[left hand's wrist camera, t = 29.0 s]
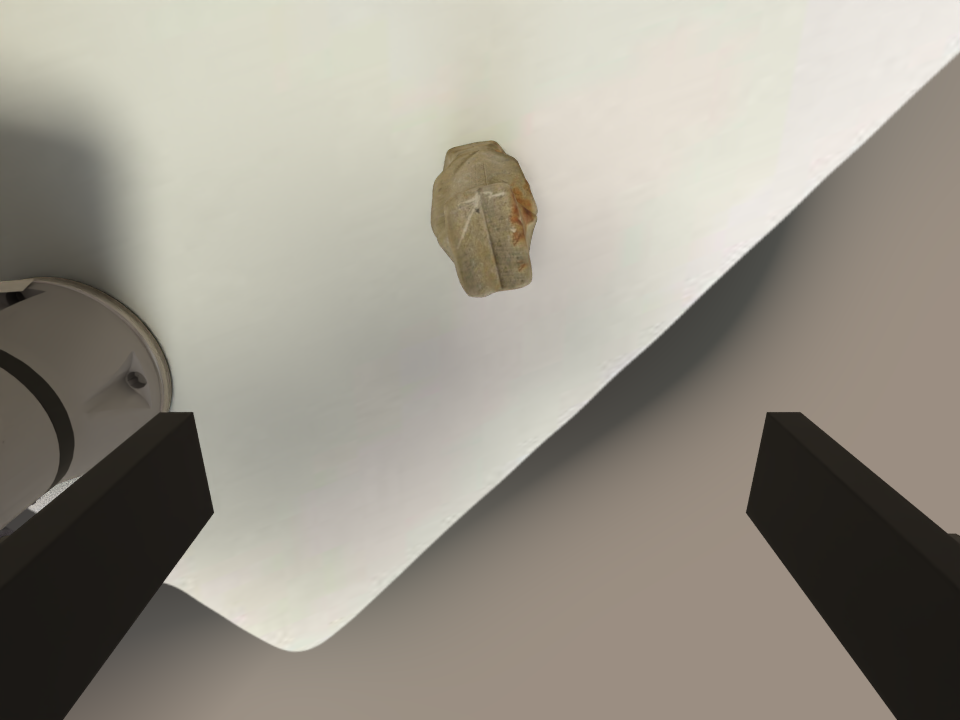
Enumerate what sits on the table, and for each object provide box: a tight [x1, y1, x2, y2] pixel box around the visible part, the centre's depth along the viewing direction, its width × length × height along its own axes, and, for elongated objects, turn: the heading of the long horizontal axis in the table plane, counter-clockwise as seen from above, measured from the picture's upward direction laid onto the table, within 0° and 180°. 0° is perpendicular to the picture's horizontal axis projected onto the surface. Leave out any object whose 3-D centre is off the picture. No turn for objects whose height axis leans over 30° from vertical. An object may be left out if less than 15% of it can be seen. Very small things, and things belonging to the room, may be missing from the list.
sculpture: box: [431, 141, 538, 297], centre depth 31 cm, size 6×7×15 cm
